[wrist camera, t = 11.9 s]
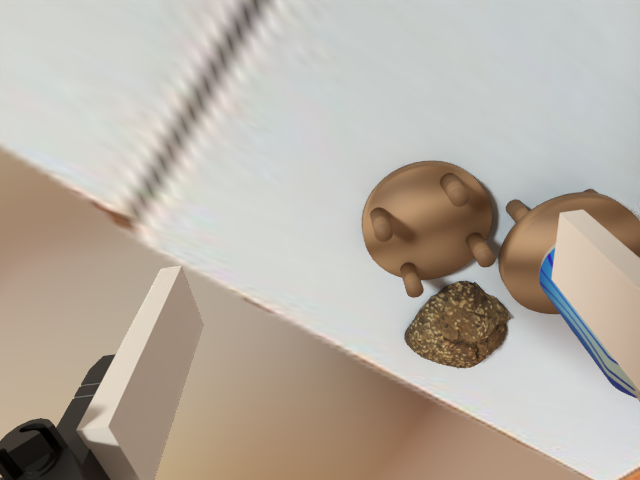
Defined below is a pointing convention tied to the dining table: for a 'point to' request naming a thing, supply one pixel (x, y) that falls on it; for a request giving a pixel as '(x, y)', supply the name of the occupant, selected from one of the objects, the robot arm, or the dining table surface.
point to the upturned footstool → (427, 222)
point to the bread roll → (458, 326)
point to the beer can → (584, 330)
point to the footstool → (554, 240)
